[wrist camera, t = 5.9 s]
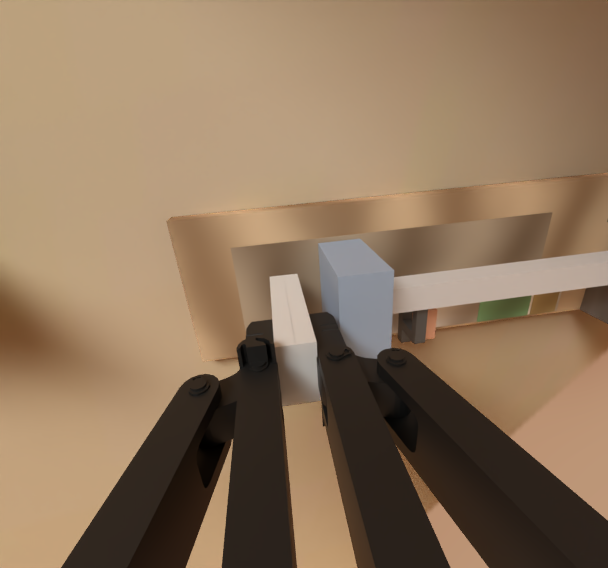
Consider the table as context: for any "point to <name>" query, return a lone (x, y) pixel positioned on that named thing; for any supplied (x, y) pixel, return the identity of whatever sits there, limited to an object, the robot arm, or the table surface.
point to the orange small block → (431, 323)
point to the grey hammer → (431, 290)
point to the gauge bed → (389, 249)
